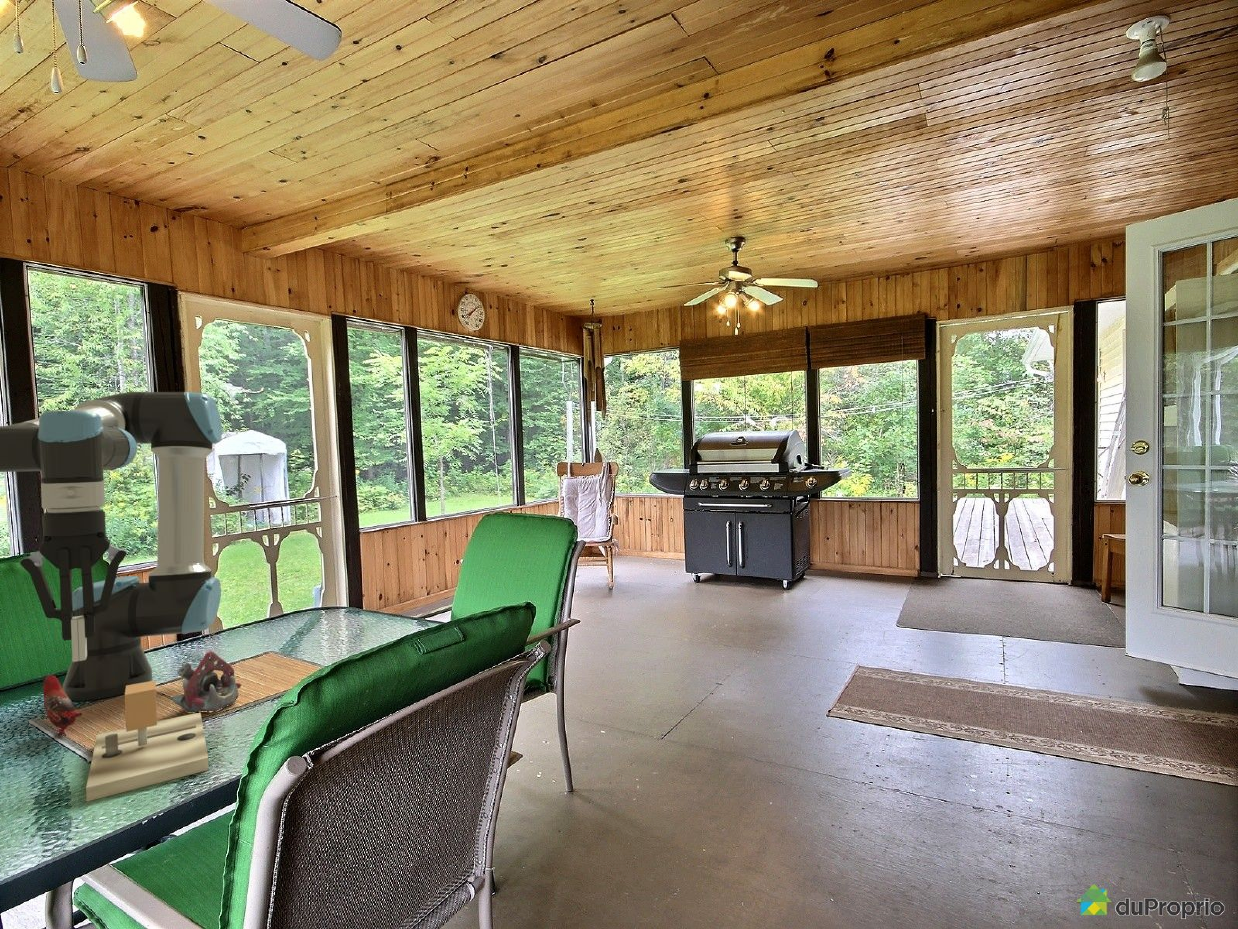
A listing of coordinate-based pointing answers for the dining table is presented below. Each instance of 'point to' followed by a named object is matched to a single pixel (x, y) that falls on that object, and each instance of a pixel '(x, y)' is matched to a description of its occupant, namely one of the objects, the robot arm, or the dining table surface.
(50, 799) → the dining table surface
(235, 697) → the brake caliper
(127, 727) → the tan block on peg
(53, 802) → the dining table surface
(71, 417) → the robot arm
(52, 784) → the dining table surface
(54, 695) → the decorative bird figurine
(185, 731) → the wooden peg board
